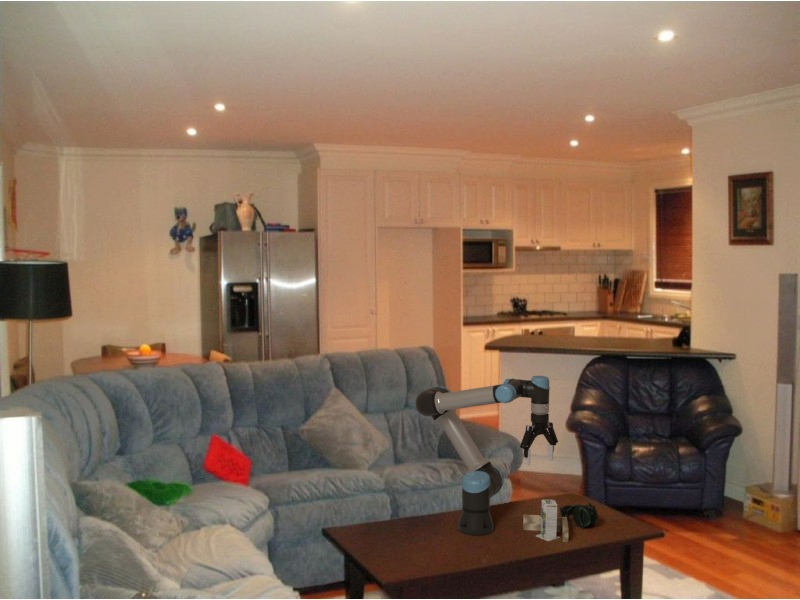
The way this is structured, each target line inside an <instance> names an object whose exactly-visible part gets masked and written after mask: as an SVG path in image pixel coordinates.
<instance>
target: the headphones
mask: <svg viewBox="0 0 800 600" xmlns="http://www.w3.org/2000/svg"><path fill="white" fill-rule="evenodd" d="M559 513H560V515H561V516H560V517H567V522H568V524H570V525H573V526H575V527H579V528H582V529H583V528H585V527H588V526H590V527H592V526H596V525H597V524H598V521H599V514H598V510H597V508H596V505H592V503H590V502H588V503H587V504H569V505H568V504H567V505H564V506H562V507H560V508H559ZM569 516H571V517H572V519H573V521H574V523H575V524H576V525H575V524H573V523H572V522H570V520H569V519H570V518H569Z"/></svg>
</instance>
